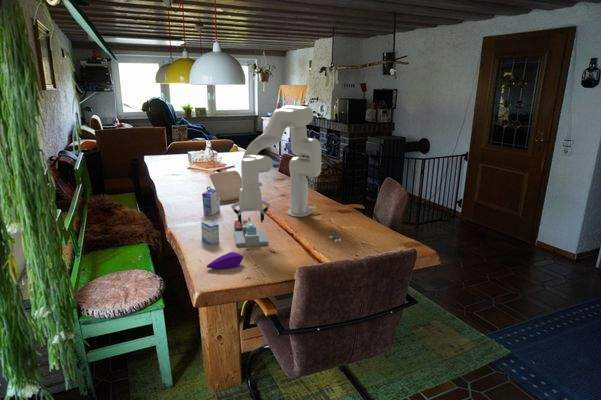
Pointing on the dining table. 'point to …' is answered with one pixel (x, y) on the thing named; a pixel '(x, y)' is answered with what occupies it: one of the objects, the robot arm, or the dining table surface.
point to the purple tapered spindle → (226, 261)
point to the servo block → (250, 228)
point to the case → (227, 185)
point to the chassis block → (250, 238)
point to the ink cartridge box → (211, 201)
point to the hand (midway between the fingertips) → (251, 222)
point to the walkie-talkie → (240, 226)
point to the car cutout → (335, 236)
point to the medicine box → (210, 232)
